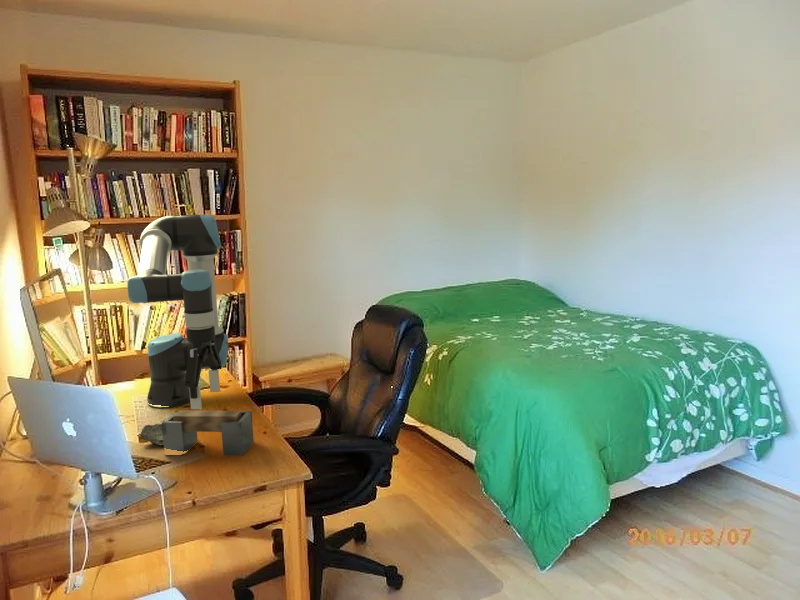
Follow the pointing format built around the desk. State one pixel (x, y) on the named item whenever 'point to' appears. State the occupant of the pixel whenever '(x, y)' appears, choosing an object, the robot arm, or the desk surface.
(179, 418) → the rail
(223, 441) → the bracket
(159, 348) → the robot arm
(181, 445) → the bracket
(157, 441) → the rock sample
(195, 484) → the desk surface
